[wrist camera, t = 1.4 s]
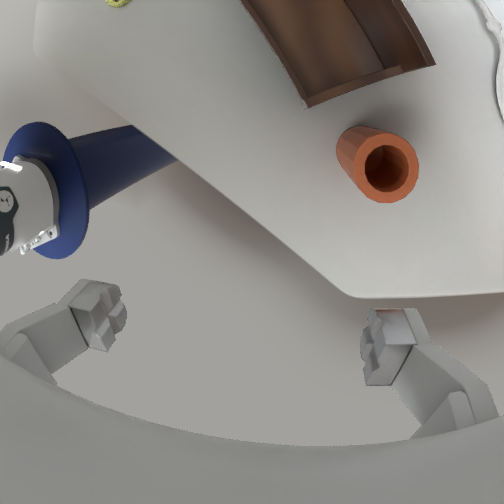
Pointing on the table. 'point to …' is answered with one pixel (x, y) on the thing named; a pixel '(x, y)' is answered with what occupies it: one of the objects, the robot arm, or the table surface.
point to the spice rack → (339, 43)
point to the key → (117, 3)
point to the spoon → (503, 66)
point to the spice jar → (378, 163)
